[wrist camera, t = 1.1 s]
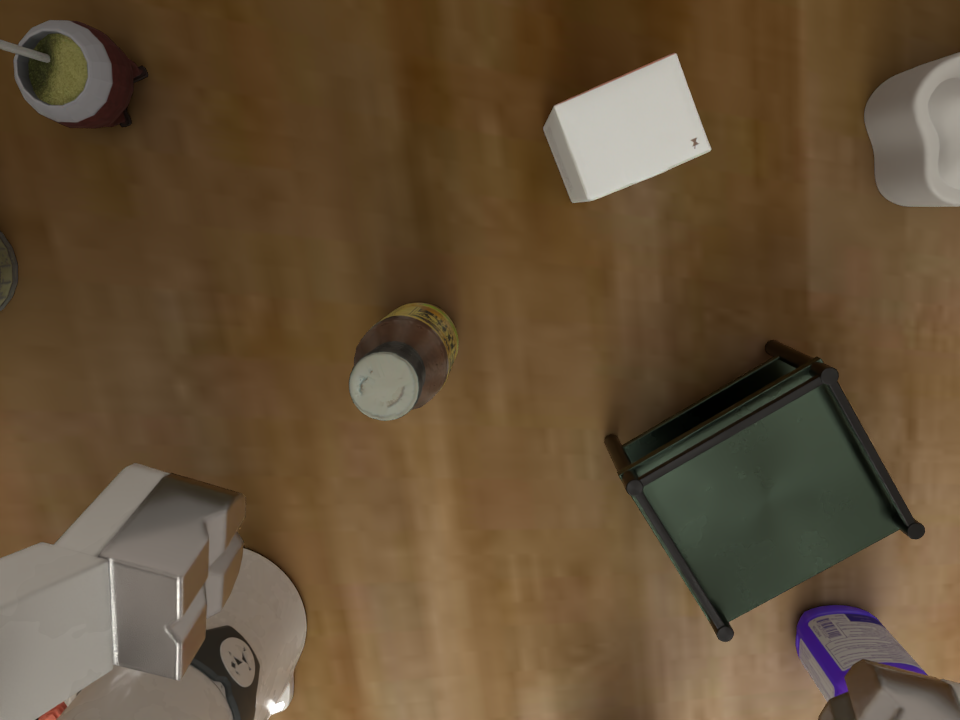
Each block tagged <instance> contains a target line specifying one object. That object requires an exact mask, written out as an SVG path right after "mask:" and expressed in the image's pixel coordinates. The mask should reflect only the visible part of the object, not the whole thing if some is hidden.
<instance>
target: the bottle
mask: <svg viewBox="0 0 960 720" xmlns="http://www.w3.org/2000/svg"><path fill="white" fill-rule="evenodd" d="M796 649H797V653H798V656H799V658H800V660H801V662H802V663H803V665H804V667H805V668H806V670H807V671H808V673H809V674H810V676H811V677H812V679H813V680H814V682H815V684H816V685H817V687H818V688H819V690H820V691H821V693H822V694H823V696H824V698H825V699H826V701H827V702H828V700H829V699H831V698H833V697H836V696H838V695H840V694H843V693H845V692H848V688H847V685H846V682H845V678H844V677H845V675H846V674H847V672H848V671H849V669H850V668H851V667H852V665H853V664H855V663H856V662H858V661H860V660H862V659H866V660H870V661H874V662H878V663H881V664H885V665H889V666H893V667H897V668H901V669H905V670H909V671H913V672H916V673H920V674H924V675H927V674H926V673H925V672H924V670H923V669H922V668H921V667H920V666H919V665H918V664H917V663H916V661H915V660H914V659H913V658H912V657H911V656H910V655H909V654H908V653H907V651H906V650H905V649H904V648H903V647H902V646H901V645H900V644H899V643H898V642H897V640H896V639H895V638H894V637H893V636H892V635H891V634H890V633H889V631H888V630H887V629H886V628H885V627H884V626H883V625H882V624H881V623H880V621H879V620H878V619H877V618H876V617H875V616H873V615H872V614H870V613H869V612H867V611H865V610H863V609H860V608H856V607H851V606H845V605H827V606H820V607H816V608H813V609H810V610H808V611H805V612H804V613H803V615H802V616H801V617H800V619H799V622H798V624H797V634H796Z"/></svg>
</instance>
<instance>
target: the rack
mask: <svg viewBox="0 0 960 720" xmlns="http://www.w3.org/2000/svg"><path fill="white" fill-rule="evenodd" d="M765 351H766V352H767V353H768V354H770V355H771V356H773V358H771V359H770V360H768V361H766V362H765V363H763V364H761V365H759V366H758V367H756V368H754V369H752V370H751V371H749V372H747V373H746V374H744V375H742V376H740V377H739V378H737V379H735V380H734V381H732V382H730V383H728V384H727V385H725V386H723V387H722V388H720V389H718V390H716V391H715V392H713V393H711V394H710V395H708V396H706V397H704V398H703V399H701V400H699V401H698V402H696V403H694V404H692V405H691V406H689V407H687V408H685V409H684V410H682V411H680V412H679V413H677V414H675V415H673V416H672V417H670V418H668V419H667V420H665V421H663V422H661V423H660V424H658V425H656V426H655V427H653V428H651V429H649V430H648V431H646V432H644V433H643V434H641V435H639V436H637V437H636V438H634V439H632V440H630V441H629V442H627V443H625V444H624V445H622V444H621V442H620V440H619V438H618V437H617V436H616V435H614V434H610V435H608V436H606V438H605V440H604V443H605V445H606V448H607V450H608V452H609V454H610V456H611V458H612V461H613V463H614V465H615V467H616V469H617V471H618V472H617V473H618V476H619V477H620V479H621V481H622V482H623V484H624V487H625V489H626V491H627V493H628V494H629V495H631V497H632V498H633V500H634V501H635V503H636V505H637V506H638V508H639V509H640V511H641V513H642V514H643V516H644V518H645V519H646V521H647V522H648V524H649V526H650V527H651V529H652V530H653V532H654V534H655V535H656V537H657V538H658V540H659V542H660V543H661V545H662V546H663V548H664V550H665V551H666V553H667V555H668V556H669V558H670V559H671V561H672V563H673V564H674V566H675V567H676V569H677V571H678V572H679V574H680V575H681V577H682V579H683V580H684V582H685V584H686V585H687V587H688V588H689V590H690V592H691V593H692V595H693V596H694V598H695V600H696V601H697V603H698V604H699V606H700V608H701V609H702V611H703V612H704V614H705V616H706V617H707V619H708V621H709V622H710V624H711V626H712V628H713V630H714V632H715V634H716V635H717V637H718V639H719V640H721V641H723V642H727V641H730V640H731V639H732V638H733V636H734V632H733V629H732V628H731V626H730V624H729V622H730V621H731V620H733V619H735V618H737V617H739V616H741V615H743V614H744V613H746V612H748V611H750V610H752V609H754V608H756V607H757V606H759V605H761V604H763V603H765V602H767V601H768V600H770V599H772V598H774V597H776V596H778V595H780V594H781V593H783V592H785V591H787V590H789V589H791V588H792V587H794V586H796V585H798V584H800V583H802V582H804V581H805V580H807V579H809V578H811V577H813V576H815V575H816V574H818V573H820V572H822V571H824V570H826V569H828V568H829V567H831V566H833V565H835V564H837V563H839V562H840V561H842V560H844V559H846V558H848V557H850V556H852V555H853V554H855V553H857V552H859V551H861V550H863V549H864V548H866V547H868V546H870V545H872V544H874V543H876V542H877V541H879V540H881V539H883V538H885V537H887V536H888V535H890V534H892V533H894V532H896V531H898V530H901V531H902V532H903V533H905V534H906V535H907V536H908V537H910V538H911V539H919V538H921V537H922V536H923V535H924V533H925V528H924V526H923V525H922V524H921V523H919V522H918V521H917V520H915V519H914V518H913V517H912V515H911V513H910V511H909V509H908V508H907V506H906V504H905V502H904V500H903V499H902V497H901V495H900V493H899V491H898V490H897V488H896V486H895V484H894V482H893V481H892V479H891V477H890V475H889V473H888V472H887V470H886V468H885V466H884V464H883V463H882V461H881V459H880V457H879V456H878V454H877V452H876V450H875V448H874V447H873V445H872V443H871V441H870V439H869V438H868V436H867V434H866V432H865V430H864V429H863V427H862V425H861V423H860V421H859V420H858V418H857V416H856V414H855V412H854V411H853V409H852V407H851V405H850V403H849V402H848V400H847V398H846V396H845V394H844V393H843V391H842V389H841V387H840V385H839V384H838V382H837V380H838V377H839V374H838V371H837V370H836V369H835V368H833V367H831V366H828V365H826V364H824V362H823V361H822V359H821V358H819V357H815V358H812V357H810V356H807V355H805V354H803V353H801V352H799V351H797V350H795V349H793V348H791V347H788V346H786V345H784V344H782V343H780V342H778V341H776V340H770V341H768V342H767V343H766V345H765Z"/></svg>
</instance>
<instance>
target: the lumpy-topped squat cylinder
mask: <svg viewBox="0 0 960 720" xmlns="http://www.w3.org/2000/svg"><path fill="white" fill-rule="evenodd" d="M864 121H865V126H866V129H867V132H868V135H869V138H870V140H871V143H872V147H873V151H874V161H875V180H876V184H877V187H878V190H879V191H880V193H881V194H882V195H883V196H884V197H885V198H886V199H887V200H889V201H891V202H893V203H895V204H898V205H901V206H908V207H949V206H960V52H959V53H956V54H953V55H950V56H947V57H944V58H941V59H938V60H935V61H932V62H928V63H925V64H922V65H920V66H917V67H915V68H912V69H910V70H907V71H904V72H902V73H899V74H897V75H895V76H893V77H891V78H889V79H888V80H886V81H885V82H883V83H882V84H881V85H880V86H879V87H878V88H877V89H876V90H875V91H874V92H873V94H872V95H871V97H870V98H869V100H868V102H867V104H866V107H865V112H864Z"/></svg>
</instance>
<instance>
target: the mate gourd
mask: <svg viewBox="0 0 960 720" xmlns="http://www.w3.org/2000/svg"><path fill="white" fill-rule="evenodd" d="M0 49H2V50H5V51H9V52H12V53H15V57H14V74H15V80H16V82H17V84H18V86H19V89H20V91H21V93H22V95H23V97H24V99H25V100H26V101H27V102H28V103H29V104H30V105H31V106H32V107H33V108H34V109H35V110H36V111H37V112H38V113H39V114H41V115H43V116H45V117H47V118H49V119H51V120H53V121H56V122H58V123H60V124H62V125H64V126H67V127H70V128H100V127H113V126H115V125H118V124H120V125H121V127H127V126H129V125H131V124H132V122H131V119H130V116H129V114H128V112H127V110H126V108H127V106H128V105H129V102H130V99H131V96H132V93H133V83H135V82H137V81H140V80H142V79H144V78H146V77H148V72H147V70H146V68H145V67H143V66H139V67H137V65H136V64H135V63H134V62H133V61H132V60H130V59H129V58H128V57H127V56H126V55H125V54H124V52H123V51H122V50H121V49H120V48H119V47H118V46H117V45H116V44H115V43H114V42H113V41H112V40H111V39H110V38H109V37H108V36H107V35H106V34H104V33H103V32H101V31H99V30H97V29H95V28H93V27H90V26H88V25H86V24H84V23H81V22H78V21H63V20H49V21H46V22H44V23H42V24H40V25H37V26H35V27H33V28H31V29H30V30H29V32H28V33H27V34H26V35H25V36H24V37H23V38H22V40H21V41H20V42H19V44H18V45H16V44H13V43H9V42H6V41H3V40H0Z"/></svg>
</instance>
